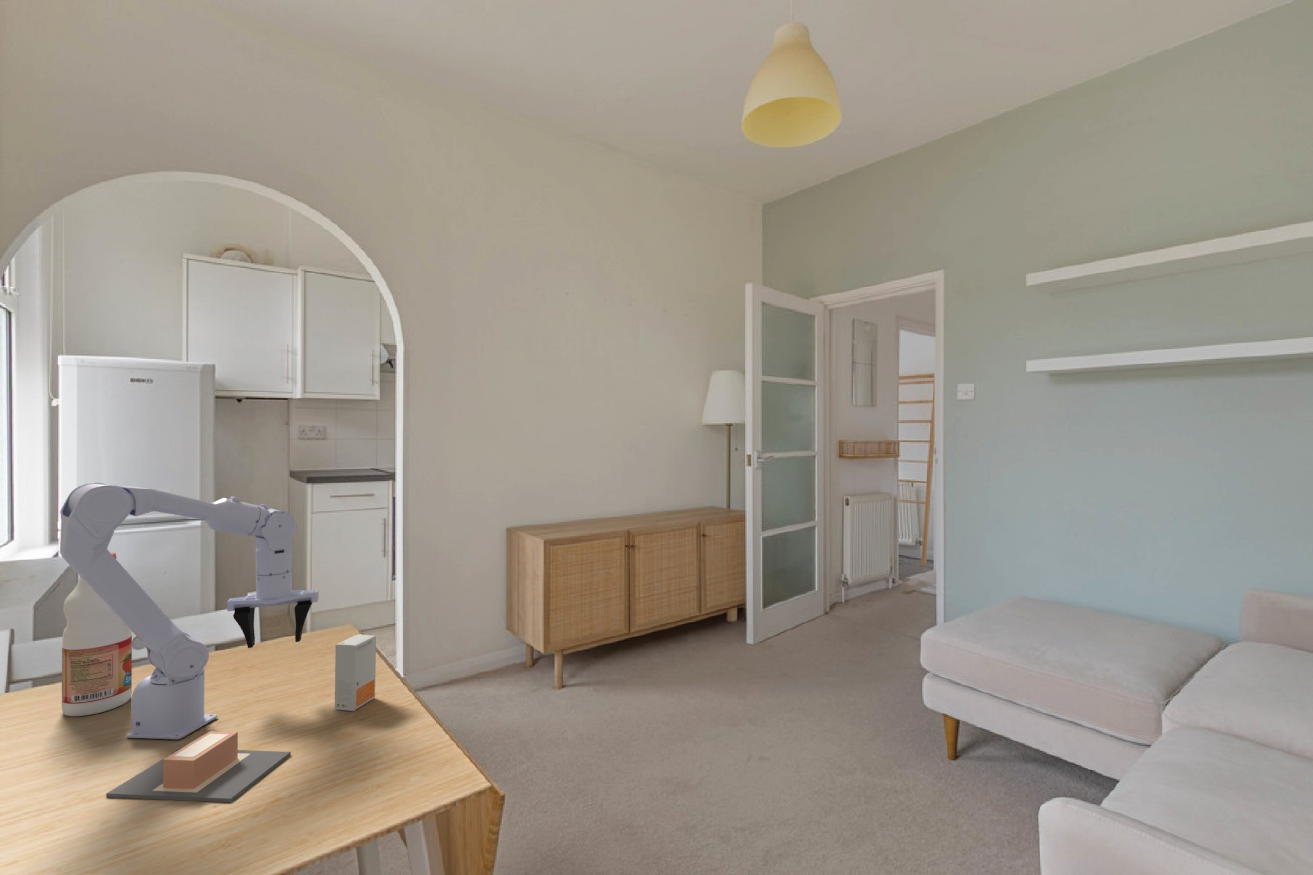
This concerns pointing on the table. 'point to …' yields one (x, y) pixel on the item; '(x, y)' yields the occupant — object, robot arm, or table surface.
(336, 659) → the skincare box
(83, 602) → the fruit juice
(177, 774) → the pink box with label
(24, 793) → the table surface
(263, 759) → the charcoal mat
